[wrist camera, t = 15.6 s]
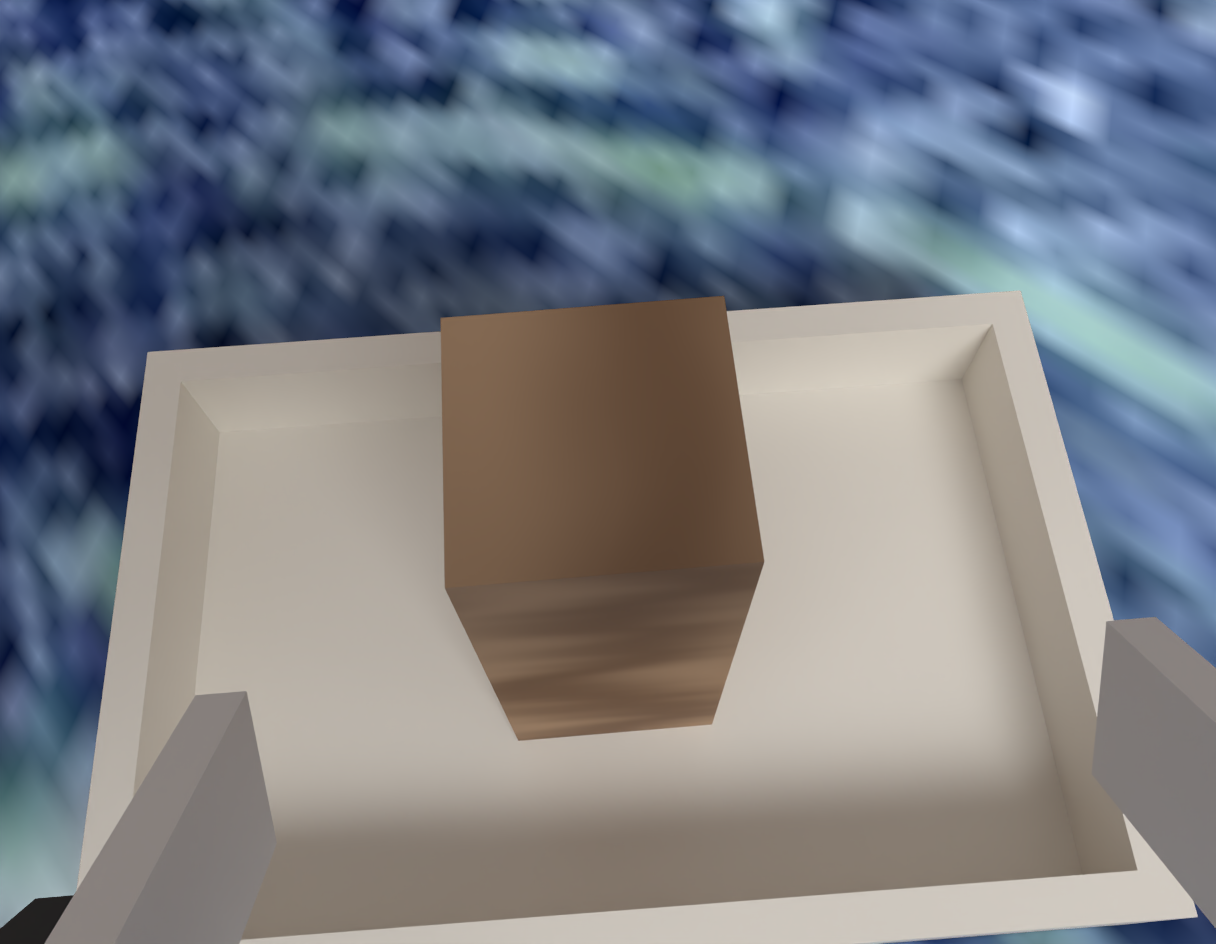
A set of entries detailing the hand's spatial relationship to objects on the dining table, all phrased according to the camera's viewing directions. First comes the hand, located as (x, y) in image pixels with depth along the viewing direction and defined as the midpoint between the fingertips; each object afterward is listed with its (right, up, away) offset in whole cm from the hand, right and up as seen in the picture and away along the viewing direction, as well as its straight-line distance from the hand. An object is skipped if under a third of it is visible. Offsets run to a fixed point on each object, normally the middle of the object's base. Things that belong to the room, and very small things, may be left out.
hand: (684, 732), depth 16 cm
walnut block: (-1, 0, +12) cm, 12 cm away
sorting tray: (-1, -1, +13) cm, 13 cm away
